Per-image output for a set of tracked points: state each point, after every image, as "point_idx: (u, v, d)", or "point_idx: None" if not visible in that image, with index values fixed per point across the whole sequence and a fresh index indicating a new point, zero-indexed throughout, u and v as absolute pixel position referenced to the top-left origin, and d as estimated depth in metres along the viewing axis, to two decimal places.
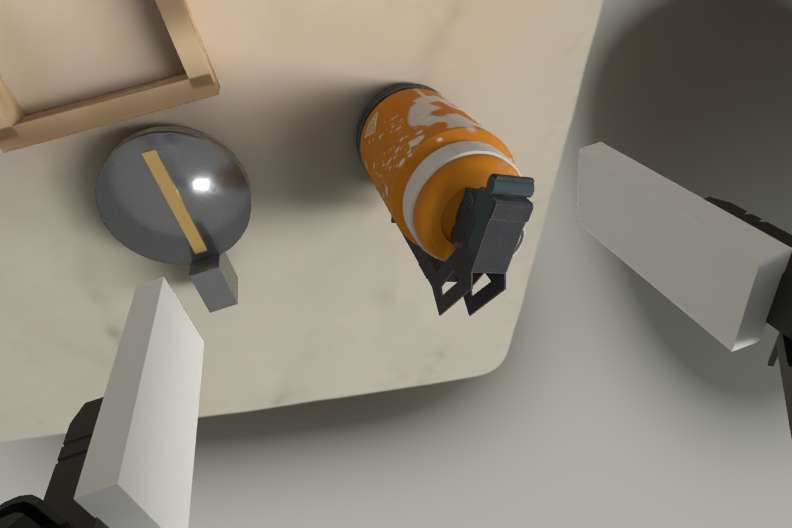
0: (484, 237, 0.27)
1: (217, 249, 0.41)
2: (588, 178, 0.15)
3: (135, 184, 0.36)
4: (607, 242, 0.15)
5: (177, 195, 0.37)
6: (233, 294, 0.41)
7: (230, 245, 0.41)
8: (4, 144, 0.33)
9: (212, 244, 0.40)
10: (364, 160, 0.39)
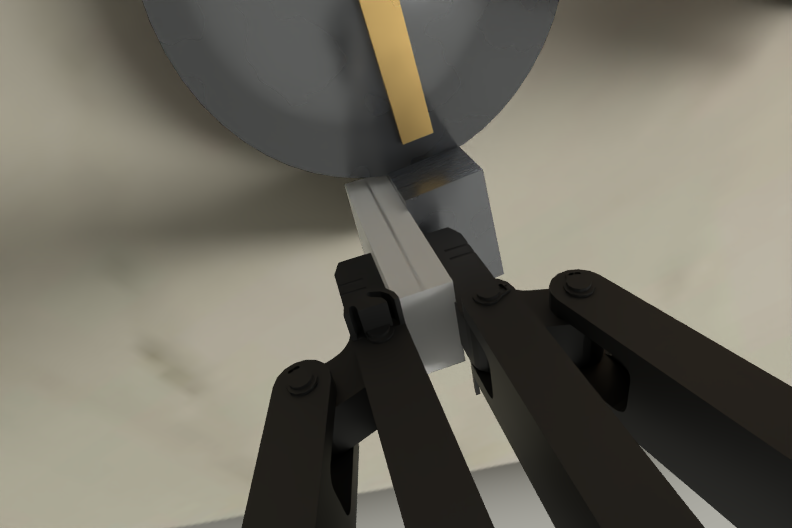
0: None
1: (455, 130, 0.15)
2: None
3: None
4: None
5: None
6: None
7: (487, 118, 0.15)
8: None
9: (445, 115, 0.15)
10: None
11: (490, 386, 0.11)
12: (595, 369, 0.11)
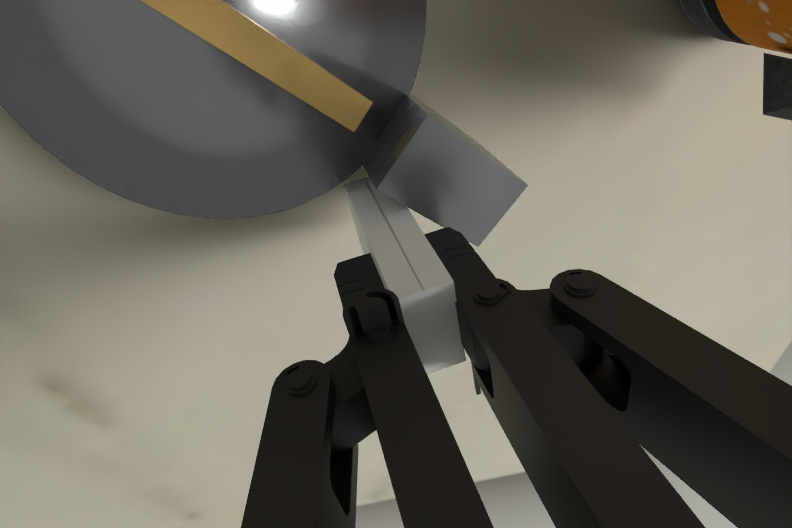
0: None
1: (393, 84, 0.14)
2: None
3: (75, 34, 0.11)
4: None
5: None
6: (504, 168, 0.14)
7: (416, 50, 0.14)
8: None
9: (373, 78, 0.14)
10: None
11: (491, 386, 0.11)
12: (596, 369, 0.11)
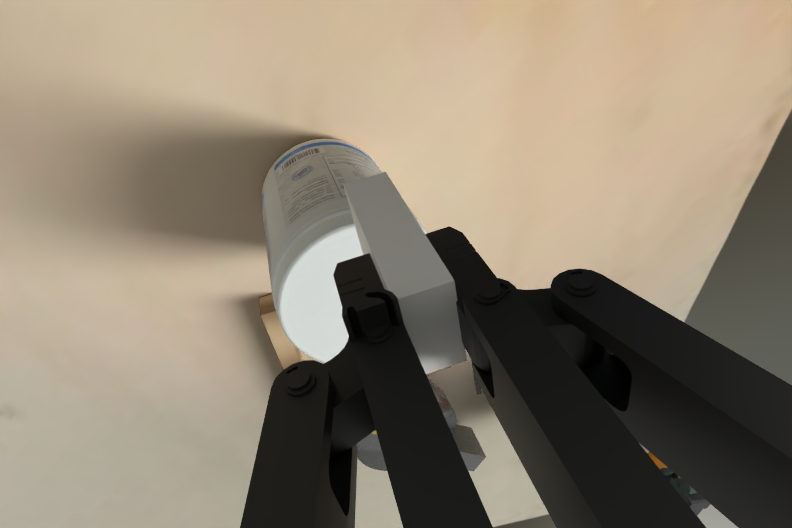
0: None
1: None
2: None
3: (377, 444, 0.50)
4: None
5: None
6: (479, 453, 0.53)
7: (453, 428, 0.52)
8: None
9: None
10: None
11: (491, 385, 0.11)
12: (597, 369, 0.11)
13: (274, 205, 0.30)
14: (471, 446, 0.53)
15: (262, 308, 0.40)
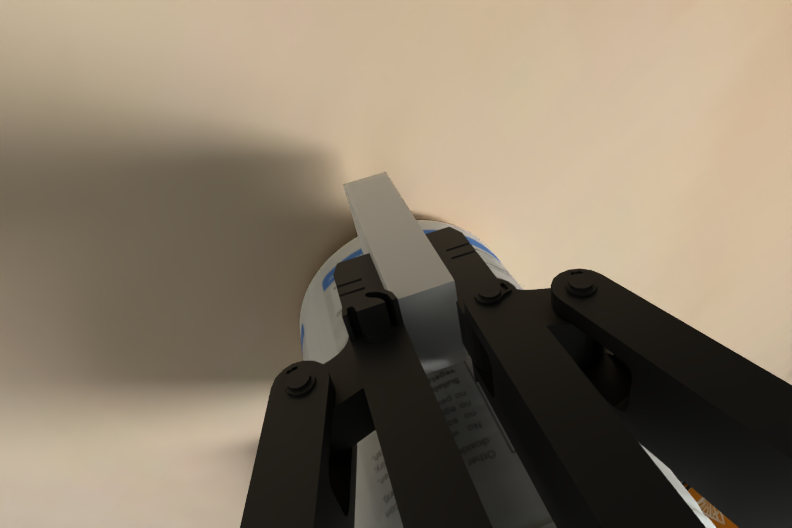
0: None
1: None
2: None
3: None
4: None
5: None
6: None
7: None
8: None
9: None
10: None
11: (491, 386, 0.11)
12: (597, 369, 0.11)
13: None
14: None
15: None
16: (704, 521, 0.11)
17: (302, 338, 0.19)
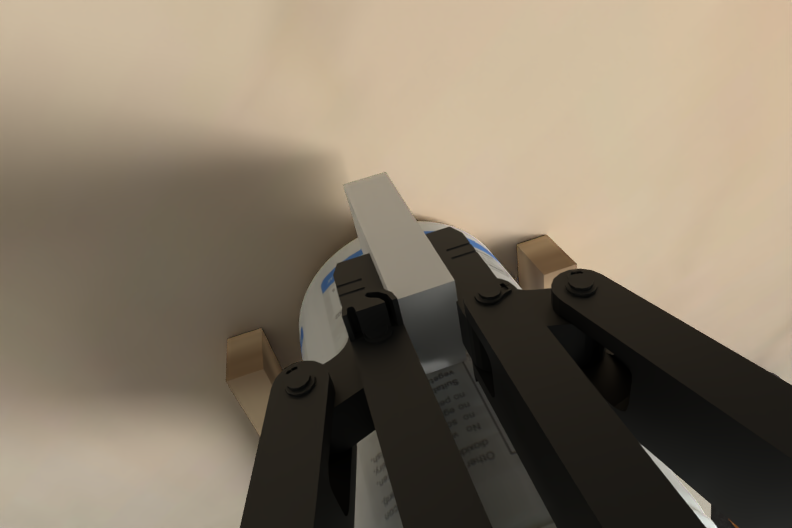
0: None
1: None
2: None
3: None
4: None
5: None
6: None
7: None
8: None
9: None
10: None
11: (491, 385, 0.11)
12: (597, 368, 0.11)
13: None
14: None
15: (231, 364, 0.20)
16: (705, 521, 0.10)
17: (301, 340, 0.19)
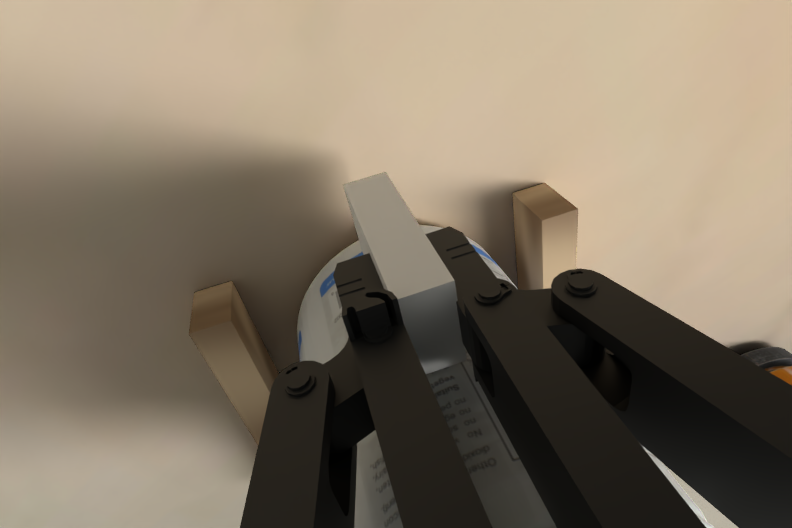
0: None
1: None
2: None
3: None
4: None
5: None
6: None
7: None
8: None
9: None
10: None
11: (491, 385, 0.11)
12: (597, 368, 0.11)
13: None
14: None
15: (196, 317, 0.18)
16: None
17: (299, 345, 0.19)
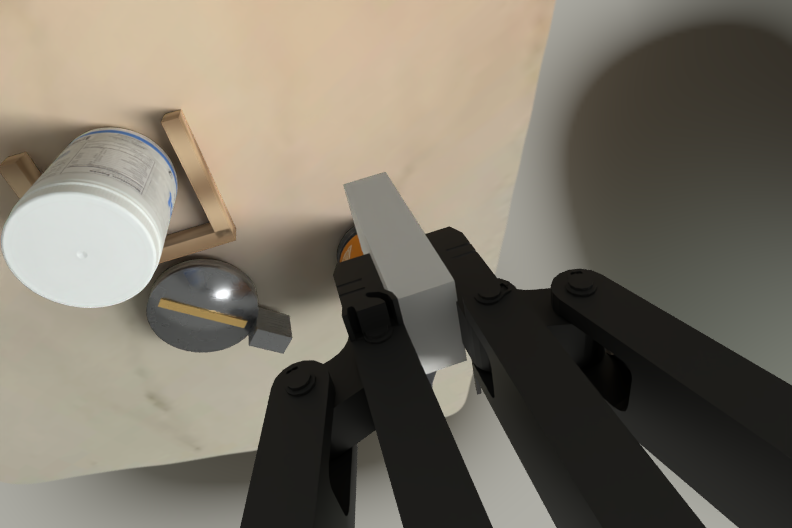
0: None
1: (252, 316, 0.53)
2: None
3: (174, 321, 0.51)
4: None
5: (198, 309, 0.51)
6: (284, 334, 0.54)
7: (256, 308, 0.53)
8: None
9: (246, 316, 0.53)
10: None
11: (491, 385, 0.11)
12: (597, 369, 0.11)
13: None
14: (278, 328, 0.54)
15: (3, 163, 0.41)
16: (121, 195, 0.33)
17: None
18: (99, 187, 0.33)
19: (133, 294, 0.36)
